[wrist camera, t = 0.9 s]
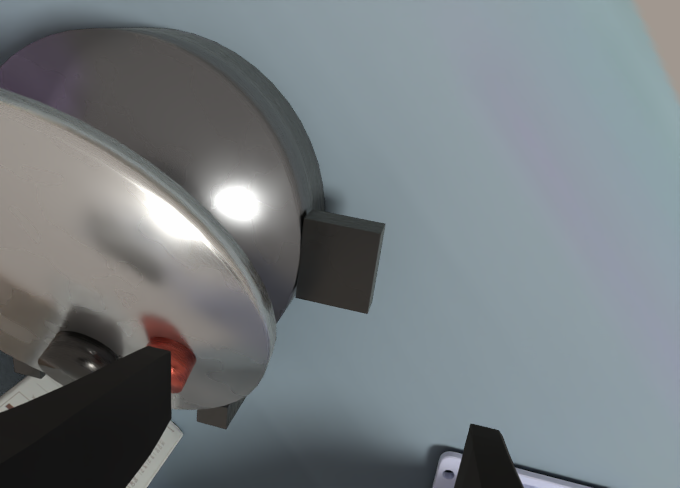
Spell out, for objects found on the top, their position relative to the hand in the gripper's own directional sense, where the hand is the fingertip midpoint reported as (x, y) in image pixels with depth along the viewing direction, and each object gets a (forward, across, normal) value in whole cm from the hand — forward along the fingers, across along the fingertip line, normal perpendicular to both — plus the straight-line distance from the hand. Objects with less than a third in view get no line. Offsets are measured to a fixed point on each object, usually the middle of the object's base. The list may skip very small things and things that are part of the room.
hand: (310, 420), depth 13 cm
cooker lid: (+3, +9, 0) cm, 9 cm away
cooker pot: (+10, +9, -1) cm, 13 cm away
